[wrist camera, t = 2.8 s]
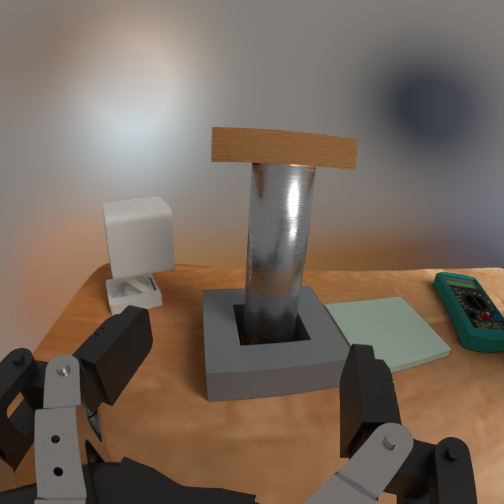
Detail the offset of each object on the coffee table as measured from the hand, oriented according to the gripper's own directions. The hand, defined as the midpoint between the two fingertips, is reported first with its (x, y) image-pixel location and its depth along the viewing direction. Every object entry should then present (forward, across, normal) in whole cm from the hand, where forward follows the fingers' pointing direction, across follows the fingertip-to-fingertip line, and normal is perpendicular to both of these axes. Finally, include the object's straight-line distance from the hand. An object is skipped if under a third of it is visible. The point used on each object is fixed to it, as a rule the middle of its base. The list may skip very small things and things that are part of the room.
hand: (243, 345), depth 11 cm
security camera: (+15, +14, +10) cm, 23 cm away
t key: (+10, 0, +9) cm, 14 cm away
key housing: (+10, 0, +9) cm, 14 cm away
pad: (+14, -11, +9) cm, 21 cm away
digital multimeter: (+19, -24, +10) cm, 33 cm away
